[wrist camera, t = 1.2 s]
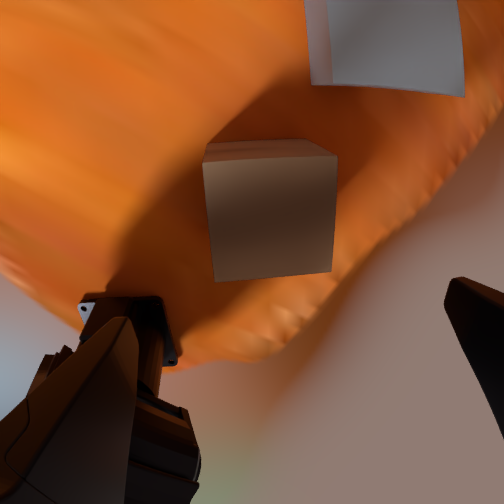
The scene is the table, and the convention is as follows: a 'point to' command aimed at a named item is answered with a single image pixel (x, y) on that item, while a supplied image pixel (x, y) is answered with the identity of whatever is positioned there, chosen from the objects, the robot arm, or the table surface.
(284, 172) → the walnut cube
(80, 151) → the table surface
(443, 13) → the plinth block
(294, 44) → the table surface
